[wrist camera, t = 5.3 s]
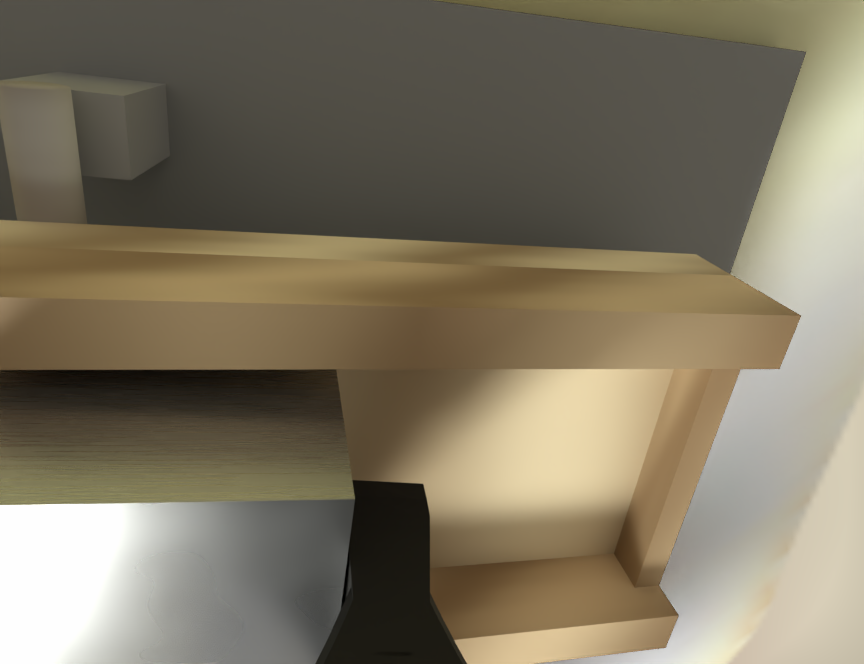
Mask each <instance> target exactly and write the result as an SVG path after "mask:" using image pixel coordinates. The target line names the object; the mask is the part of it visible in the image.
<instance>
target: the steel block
mask: <svg viewBox="0 0 864 664" xmlns="http://www.w3.org/2000/svg"><path fill="white" fill-rule="evenodd" d="M354 503H355V495H354V488H353V481H352V474H351V468H350V461H349V454H348V447H347V440H346V433H345V426H344V419H343V412H342V405H341V398H340V391H339V385H338V378H337V371H336V369H297V370H0V664H315V663H316V661H317V659H318V657H319V655H320V653H321V651H322V649H323V647H324V645H325V643H326V641H327V639H328V637H329V635H330V633H331V631H332V628H333V626H334V624H335V622H336V620H337V617H338V615H339V613H340V611H341V603H342V595H343V588H344V580H345V572H346V565H347V557H348V549H349V542H350V534H351V526H352V519H353V511H354Z"/></svg>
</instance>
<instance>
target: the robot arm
mask: <svg viewBox="0 0 864 664" xmlns="http://www.w3.org/2000/svg"><path fill="white" fill-rule="evenodd" d="M352 481H353V488H354V495H355V503H354V511H353V519H352V526H351V534H350V542H349V549H348V557H347V565H346V572H345V580H344V588H343V595H342V603H341V611H340V613H339V615H338V617H337V620H336V622H335V624H334V626H333V628H332V631H331V633H330V635H329V637H328V639H327V641H326V643H325V645H324V647H323V649H322V651H321V653H320V655H319V657H318V659H317V661H316V663H315V664H467V663H466V661H465V659H464V657H463V656H462V654H461V652H460V650H459V648H458V647H457V645H456V643H455V641H454V639H453V637H452V635H451V633H450V631H449V629H448V628H447V626H446V624H445V622H444V620H443V618H442V616H441V614H440V612H439V610H438V608H437V606H436V604H435V602H434V600H433V598H432V595H431V593H430V514H429V508H428V503H427V498H426V493H425V489H424V485H423V484H420V483H401V482H382V481H363V480H352Z"/></svg>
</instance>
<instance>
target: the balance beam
mask: <svg viewBox="0 0 864 664" xmlns="http://www.w3.org/2000/svg"><path fill="white" fill-rule="evenodd" d="M0 122H1V128H2V134H3V140H4V146H5V151H6V157H7V163H8V169H9V175H10V181H11V187H12V193H13V198H14V204H15V210H16V216H17V221H12V220H0V370H297V369H336V371H337V378H338V385H339V391H340V398H341V405H342V412H343V419H344V426H345V433H346V440H347V447H348V454H349V461H350V468H351V474H352V480H363V481H382V482H401V483H420V484H423V485H424V489H425V493H426V498H427V503H428V508H429V514H430V593H431V595H432V598H433V600H434V602H435V604H436V606H437V608H438V610H439V612H440V614H441V616H442V618H443V620H444V622H445V624H446V626H447V628H448V629H449V631H450V633H451V635H452V637H453V639H454V641H455V643H456V645H457V647H458V648H459V650H460V652H461V654H462V656H463V657H464V659H465V661H466V663H467V664H536V663H544V662H552V661H560V660H569V659H577V658H585V657H593V656H601V655H610V654H618V653H626V652H634V651H642V650H651V649H659V648H666V645H667V643H668V640H669V638H670V635H671V633H672V631H673V628H674V626H675V623H676V621H677V618H678V616H679V615H678V614H677V612H676V611H675V609H674V608H673V606H672V605H671V603H670V602H669V600H668V599H667V597H666V596H665V594H664V593H663V591H662V590H661V588H660V586H659V584H660V581H661V578H662V576H663V573H664V570H665V568H666V565H667V563H668V560H669V557H670V555H671V552H672V549H673V547H674V544H675V541H676V539H677V536H678V533H679V531H680V528H681V526H682V523H683V520H684V518H685V515H686V512H687V510H688V507H689V504H690V502H691V499H692V496H693V494H694V491H695V488H696V486H697V483H698V481H699V478H700V475H701V473H702V470H703V467H704V465H705V462H706V459H707V457H708V454H709V451H710V449H711V446H712V444H713V441H714V438H715V436H716V433H717V430H718V428H719V425H720V422H721V420H722V417H723V414H724V412H725V409H726V406H727V404H728V401H729V399H730V396H731V393H732V391H733V388H734V385H735V383H736V380H737V377H738V375H739V372H740V369H780V366H781V364H782V361H783V359H784V356H785V354H786V351H787V349H788V347H789V344H790V342H791V339H792V337H793V334H794V332H795V329H796V327H797V325H798V322H799V320H800V317H801V315H799V314H797V313H795V312H794V311H792V310H790V309H789V308H787V307H785V306H783V305H782V304H780V303H778V302H777V301H775V300H773V299H772V298H770V297H768V296H766V295H765V294H763V293H761V292H760V291H758V290H756V289H754V288H753V287H751V286H749V285H748V284H746V283H744V282H742V281H741V280H739V279H737V278H736V277H734V276H732V275H731V274H729V273H727V272H725V271H724V270H722V269H720V268H719V267H717V266H715V265H713V264H712V263H710V262H708V261H707V260H705V259H703V258H701V257H700V256H698V255H696V254H682V253H662V252H642V251H621V250H601V249H581V248H561V247H540V246H520V245H500V244H479V243H459V242H439V241H418V240H398V239H378V238H357V237H337V236H317V235H296V234H276V233H256V232H235V231H215V230H195V229H174V228H154V227H134V226H114V225H93V224H87V217H86V209H85V201H84V193H83V184H82V176H81V168H80V160H79V152H78V143H77V135H76V127H75V119H74V110H73V102H72V94H71V87H69V86H66V85H61V84H55V83H46V82H35V81H0Z"/></svg>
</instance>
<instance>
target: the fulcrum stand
mask: <svg viewBox="0 0 864 664" xmlns="http://www.w3.org/2000/svg"><path fill="white" fill-rule="evenodd" d="M805 54H806V52H803V51H796V50H789V49H782V48H774V47H767V46H760V45H753V44H745V43H738V42H731V41H724V40H716V39H709V38H702V37H695V36H687V35H680V34H673V33H666V32H658V31H651V30H644V29H636V28H629V27H622V26H615V25H607V24H600V23H593V22H586V21H578V20H571V19H564V18H557V17H549V16H542V15H535V14H528V13H520V12H513V11H506V10H499V9H491V8H484V7H477V6H470V5H462V4H455V3H448V2H441V1H433V0H0V81H35V82H46V83H55V84H61V85H66V86H69V87H71V94H72V102H73V110H74V119H75V127H76V135H77V143H78V152H79V160H80V168H81V176H82V184H83V193H84V201H85V209H86V217H87V224H93V225H114V226H134V227H154V228H174V229H195V230H215V231H235V232H256V233H276V234H296V235H317V236H337V237H357V238H378V239H398V240H418V241H439V242H459V243H479V244H500V245H520V246H540V247H561V248H581V249H601V250H621V251H642V252H662V253H682V254H696V255H698V256H700V257H701V258H703V259H705V260H707V261H708V262H710V263H712V264H713V265H715V266H717V267H719V268H720V269H722V270H724V271H725V272H727V273H729V274H730V272H731V269H732V266H733V263H734V260H735V257H736V255H737V252H738V249H739V246H740V243H741V240H742V237H743V234H744V231H745V228H746V225H747V223H748V220H749V217H750V214H751V211H752V208H753V205H754V202H755V199H756V196H757V193H758V191H759V188H760V185H761V182H762V179H763V176H764V173H765V170H766V167H767V164H768V161H769V159H770V156H771V153H772V150H773V147H774V144H775V141H776V138H777V135H778V132H779V129H780V127H781V124H782V121H783V118H784V115H785V112H786V109H787V106H788V103H789V100H790V97H791V95H792V92H793V89H794V86H795V83H796V80H797V77H798V74H799V71H800V68H801V65H802V63H803V60H804V57H805ZM0 220H12V221H17V216H16V210H15V204H14V198H13V193H12V187H11V181H10V175H9V169H8V163H7V157H6V151H5V146H4V140H3V134H2V128H1V122H0Z"/></svg>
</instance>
